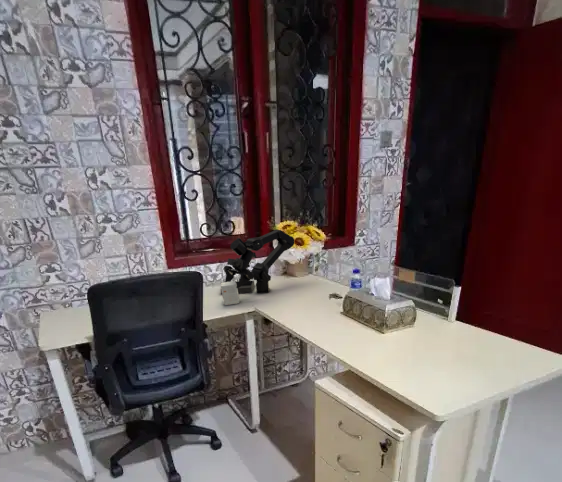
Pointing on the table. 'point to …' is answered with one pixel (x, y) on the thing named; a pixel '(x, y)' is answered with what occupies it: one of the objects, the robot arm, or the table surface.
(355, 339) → the table surface
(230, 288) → the small box
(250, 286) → the pan
